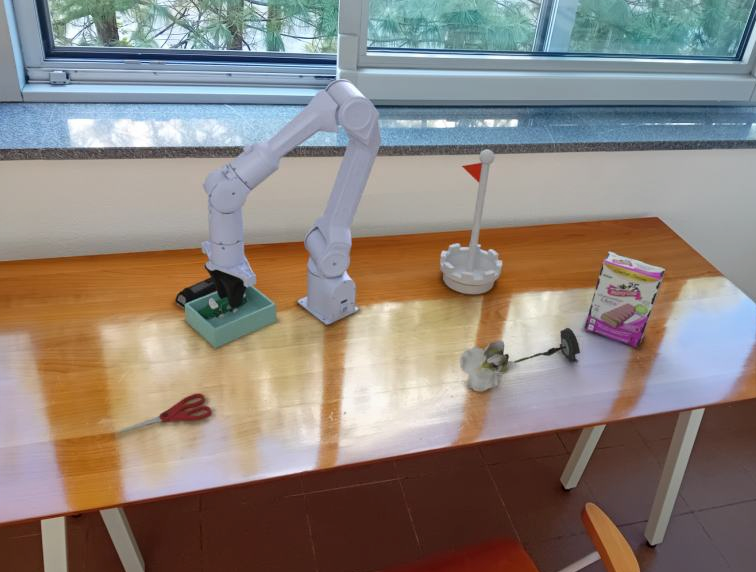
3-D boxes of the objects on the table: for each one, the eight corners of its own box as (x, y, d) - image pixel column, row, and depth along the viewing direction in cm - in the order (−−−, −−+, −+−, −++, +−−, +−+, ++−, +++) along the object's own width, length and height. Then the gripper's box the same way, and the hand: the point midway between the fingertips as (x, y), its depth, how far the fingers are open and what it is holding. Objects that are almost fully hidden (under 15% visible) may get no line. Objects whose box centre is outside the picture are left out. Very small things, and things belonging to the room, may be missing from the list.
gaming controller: (204, 332, 133) (209, 314, 129) (193, 316, 135) (198, 298, 130) (247, 314, 139) (254, 296, 135) (237, 299, 141) (243, 281, 136)
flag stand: (509, 277, 159) (533, 150, 143) (480, 304, 149) (502, 170, 133) (457, 256, 164) (475, 131, 148) (426, 281, 155) (441, 149, 139)
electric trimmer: (250, 280, 149) (250, 267, 147) (186, 310, 138) (185, 296, 136) (238, 272, 151) (238, 259, 149) (174, 302, 140) (172, 288, 138)
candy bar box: (583, 331, 145) (601, 261, 136) (589, 318, 149) (607, 249, 140) (639, 350, 141) (661, 279, 133) (644, 336, 145) (666, 267, 137)
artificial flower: (582, 378, 134) (595, 348, 127) (467, 406, 129) (473, 375, 122) (563, 340, 140) (574, 308, 132) (451, 364, 135) (457, 333, 127)
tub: (276, 321, 138) (276, 304, 136) (215, 348, 130) (213, 330, 128) (246, 297, 144) (245, 280, 142) (186, 321, 135) (184, 303, 133)
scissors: (213, 416, 116) (212, 411, 115) (121, 446, 109) (120, 442, 108) (201, 395, 119) (201, 390, 119) (112, 423, 112) (111, 418, 112)
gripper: (184, 226, 129) (189, 290, 136) (229, 262, 120) (233, 328, 128) (219, 215, 133) (223, 277, 140) (265, 249, 125) (267, 313, 132)
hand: (230, 300), depth 134 cm, fingers closed on gaming controller, 3 cm apart
